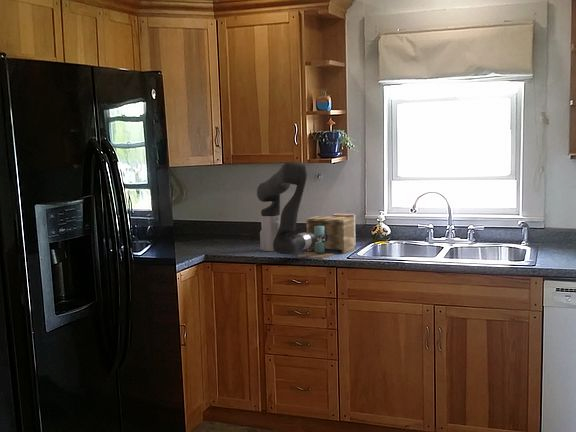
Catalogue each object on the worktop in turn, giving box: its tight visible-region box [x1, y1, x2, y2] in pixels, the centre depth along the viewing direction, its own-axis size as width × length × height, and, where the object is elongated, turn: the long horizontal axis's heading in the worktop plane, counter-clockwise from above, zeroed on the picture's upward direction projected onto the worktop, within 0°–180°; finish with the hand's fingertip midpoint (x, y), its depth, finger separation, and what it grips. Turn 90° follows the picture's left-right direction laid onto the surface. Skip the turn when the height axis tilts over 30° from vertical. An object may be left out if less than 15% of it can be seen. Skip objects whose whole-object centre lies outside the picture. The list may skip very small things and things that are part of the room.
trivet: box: [295, 251, 335, 260], centre depth 330 cm, size 14×12×1 cm
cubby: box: [306, 215, 355, 255], centre depth 342 cm, size 20×11×16 cm, turn 59°
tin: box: [314, 226, 326, 253], centre depth 333 cm, size 5×5×12 cm
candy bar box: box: [331, 213, 357, 248], centre depth 354 cm, size 11×5×16 cm, turn 74°
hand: (321, 236), depth 334 cm, fingers closed on tin, 4 cm apart
